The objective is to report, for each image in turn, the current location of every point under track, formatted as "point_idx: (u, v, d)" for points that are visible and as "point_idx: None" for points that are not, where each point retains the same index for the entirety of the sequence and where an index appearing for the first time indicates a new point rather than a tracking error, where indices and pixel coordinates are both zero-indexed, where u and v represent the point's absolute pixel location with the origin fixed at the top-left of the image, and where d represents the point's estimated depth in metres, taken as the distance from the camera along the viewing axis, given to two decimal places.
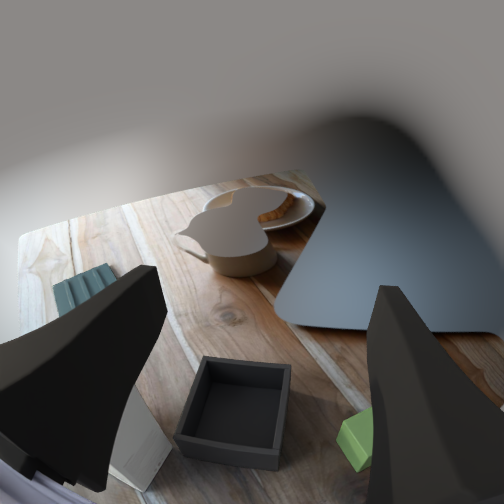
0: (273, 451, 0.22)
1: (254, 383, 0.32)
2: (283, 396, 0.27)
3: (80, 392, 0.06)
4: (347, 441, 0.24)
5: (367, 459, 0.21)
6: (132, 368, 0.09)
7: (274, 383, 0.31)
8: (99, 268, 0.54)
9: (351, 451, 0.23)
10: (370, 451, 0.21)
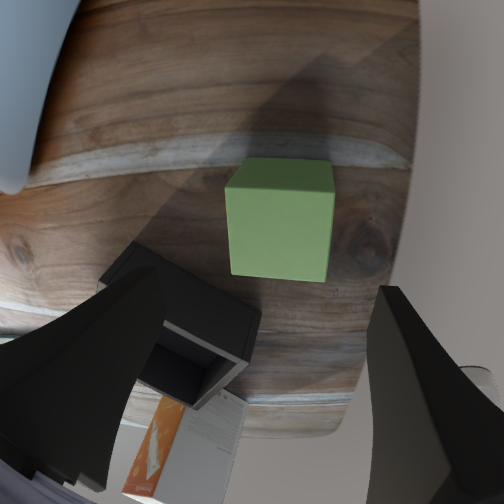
0: (241, 364, 0.18)
1: None
2: None
3: (80, 392, 0.06)
4: None
5: None
6: (132, 368, 0.09)
7: None
8: None
9: None
10: (317, 273, 0.14)
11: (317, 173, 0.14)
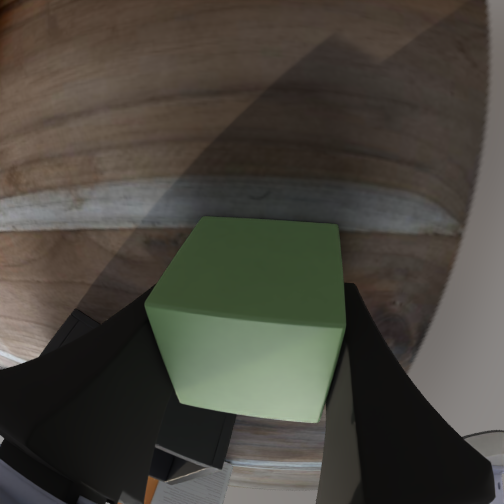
0: (211, 468, 0.13)
1: None
2: None
3: (124, 408, 0.06)
4: None
5: None
6: None
7: None
8: None
9: None
10: (306, 416, 0.08)
11: (315, 262, 0.08)
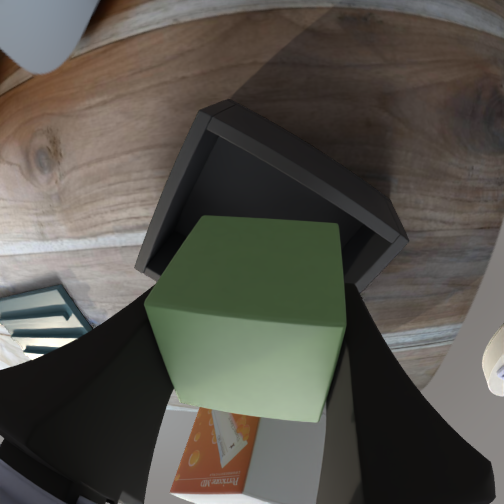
0: (397, 244, 0.13)
1: (199, 169, 0.16)
2: (285, 168, 0.12)
3: (124, 408, 0.06)
4: None
5: None
6: None
7: (215, 136, 0.14)
8: None
9: None
10: (306, 415, 0.08)
11: (315, 260, 0.08)
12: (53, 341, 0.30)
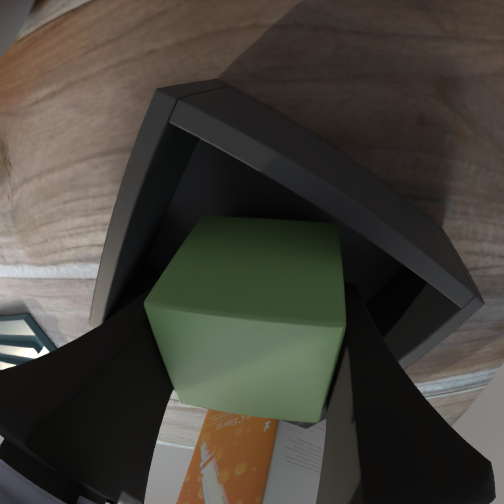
0: (467, 309, 0.07)
1: (172, 185, 0.11)
2: (310, 192, 0.07)
3: (124, 408, 0.06)
4: None
5: None
6: None
7: (193, 134, 0.09)
8: None
9: None
10: (306, 416, 0.08)
11: (315, 261, 0.08)
12: None
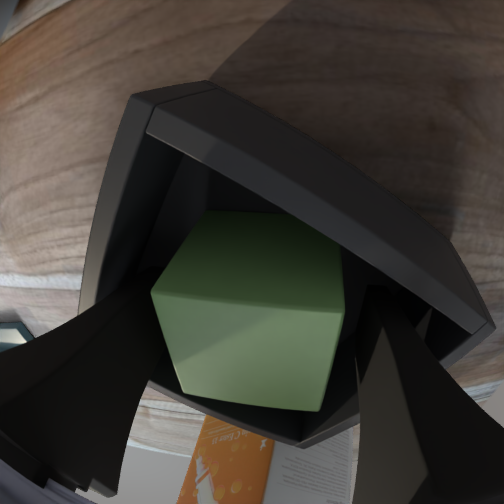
0: (478, 335, 0.07)
1: (159, 197, 0.10)
2: (308, 214, 0.06)
3: (93, 397, 0.06)
4: None
5: None
6: (143, 371, 0.09)
7: None
8: None
9: None
10: (307, 404, 0.08)
11: (315, 252, 0.08)
12: None
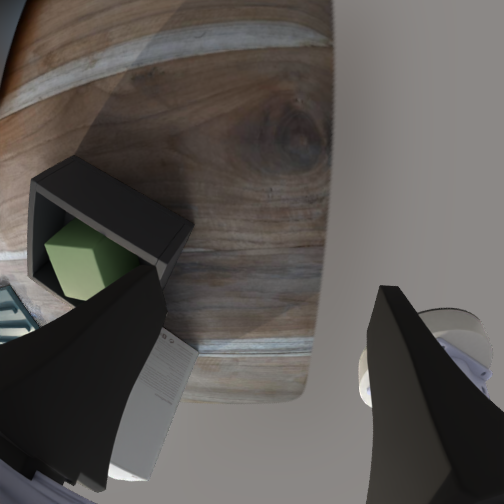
0: (159, 266, 0.17)
1: (60, 208, 0.20)
2: (75, 214, 0.16)
3: (80, 392, 0.06)
4: None
5: None
6: (132, 368, 0.09)
7: None
8: None
9: None
10: None
11: None
12: (10, 331, 0.33)
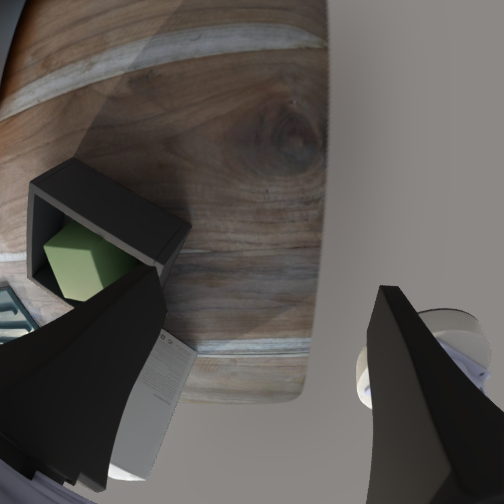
0: None
1: (59, 210, 0.20)
2: (73, 216, 0.16)
3: (80, 392, 0.06)
4: None
5: None
6: (132, 368, 0.09)
7: None
8: None
9: None
10: None
11: None
12: (10, 331, 0.34)
